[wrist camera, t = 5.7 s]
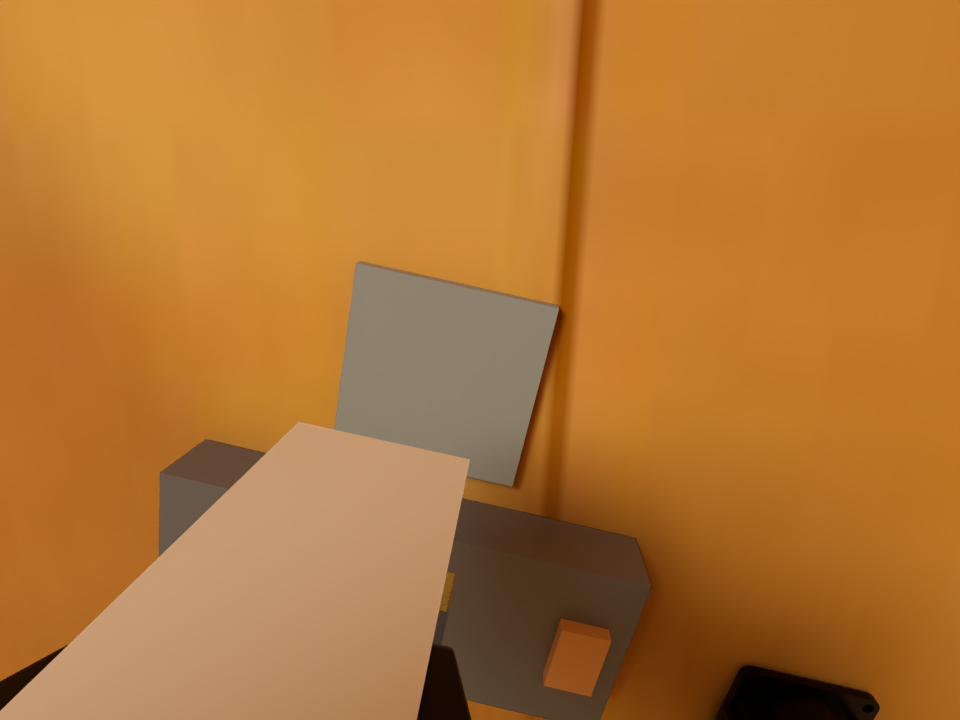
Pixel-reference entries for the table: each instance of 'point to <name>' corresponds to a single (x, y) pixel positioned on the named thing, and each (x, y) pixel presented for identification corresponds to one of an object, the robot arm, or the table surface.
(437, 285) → the grey square plate
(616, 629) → the grey flat block
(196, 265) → the table surface
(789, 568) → the table surface
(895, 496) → the table surface
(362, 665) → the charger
